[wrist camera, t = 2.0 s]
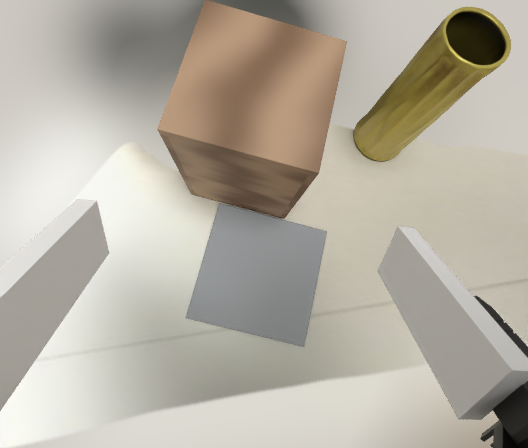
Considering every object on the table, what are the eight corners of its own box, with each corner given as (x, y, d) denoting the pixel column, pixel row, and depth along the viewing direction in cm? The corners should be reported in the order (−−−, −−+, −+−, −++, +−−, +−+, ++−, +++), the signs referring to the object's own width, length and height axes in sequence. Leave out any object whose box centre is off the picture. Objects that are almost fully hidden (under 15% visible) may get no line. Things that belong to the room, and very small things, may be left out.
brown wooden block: (303, 135, 33) (347, 41, 20) (284, 218, 30) (318, 173, 18) (217, 111, 32) (205, -1, 19) (191, 194, 30) (157, 129, 17)
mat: (325, 232, 30) (326, 231, 30) (303, 345, 28) (304, 346, 27) (219, 204, 30) (219, 203, 30) (186, 317, 27) (185, 317, 27)
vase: (345, 146, 33) (424, 46, 19) (365, 106, 34) (453, -13, 20) (390, 170, 33) (504, 89, 19) (408, 130, 34) (527, 26, 20)
